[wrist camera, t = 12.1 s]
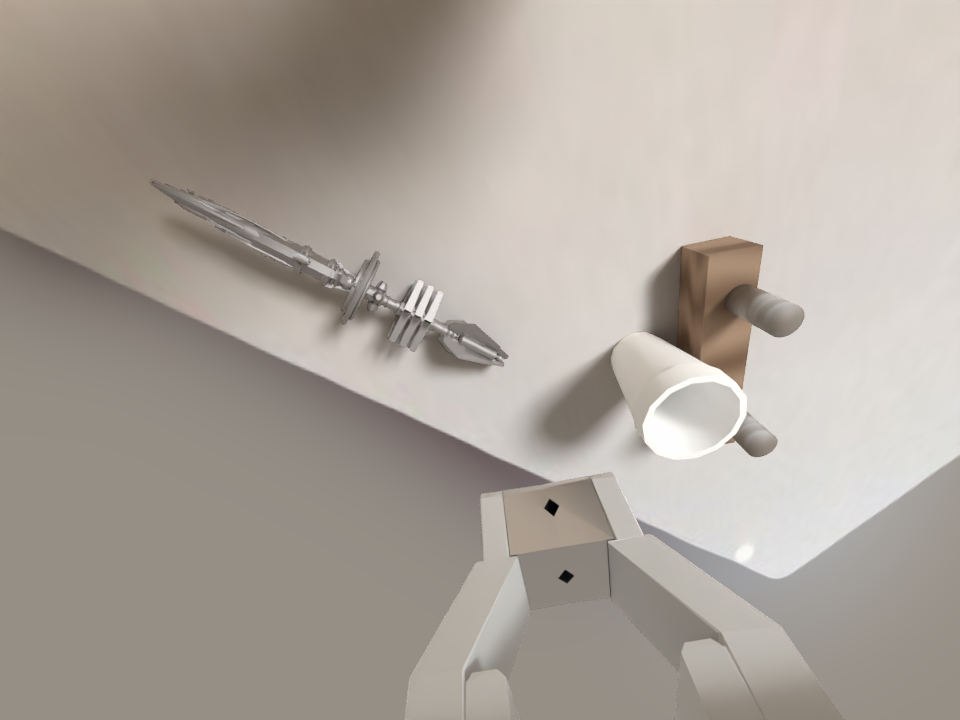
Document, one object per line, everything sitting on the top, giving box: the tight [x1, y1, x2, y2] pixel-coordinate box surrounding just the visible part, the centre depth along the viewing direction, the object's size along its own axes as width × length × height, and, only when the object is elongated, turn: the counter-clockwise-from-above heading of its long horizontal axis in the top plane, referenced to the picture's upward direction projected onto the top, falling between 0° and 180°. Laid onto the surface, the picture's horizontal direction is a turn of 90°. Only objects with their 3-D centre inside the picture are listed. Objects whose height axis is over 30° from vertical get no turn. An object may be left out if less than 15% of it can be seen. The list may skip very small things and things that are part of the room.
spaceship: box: [150, 180, 508, 367], centre depth 37 cm, size 8×35×8 cm
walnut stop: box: [677, 236, 804, 457], centre depth 40 cm, size 24×5×11 cm, turn 11°
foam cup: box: [611, 332, 747, 460], centre depth 40 cm, size 10×9×13 cm
